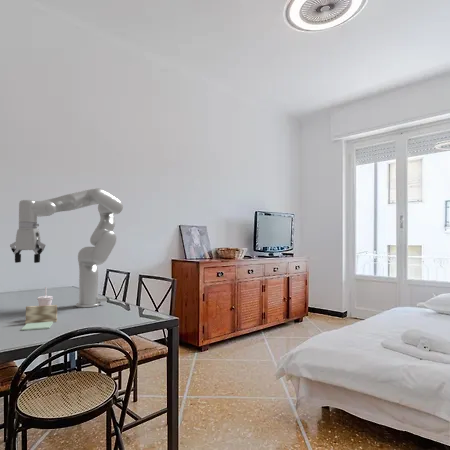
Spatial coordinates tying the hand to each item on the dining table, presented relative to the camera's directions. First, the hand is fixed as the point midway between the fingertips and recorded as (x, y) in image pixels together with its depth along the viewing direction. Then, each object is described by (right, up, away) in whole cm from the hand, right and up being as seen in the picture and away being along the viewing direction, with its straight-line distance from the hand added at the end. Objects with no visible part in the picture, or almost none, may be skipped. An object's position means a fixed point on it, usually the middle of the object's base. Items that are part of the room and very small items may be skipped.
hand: (27, 262), depth 167 cm
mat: (+16, -24, -21) cm, 36 cm away
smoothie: (+11, -25, -6) cm, 28 cm away
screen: (+14, -24, -14) cm, 31 cm away
